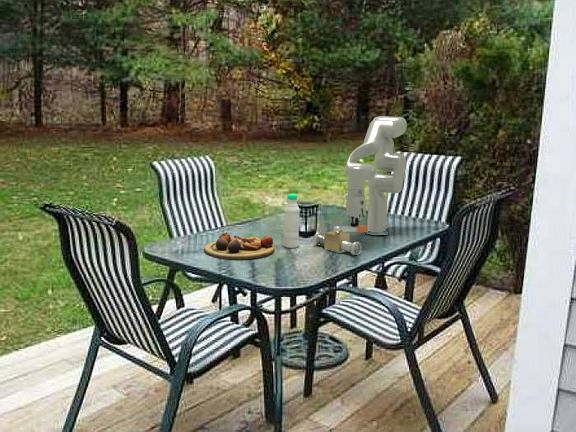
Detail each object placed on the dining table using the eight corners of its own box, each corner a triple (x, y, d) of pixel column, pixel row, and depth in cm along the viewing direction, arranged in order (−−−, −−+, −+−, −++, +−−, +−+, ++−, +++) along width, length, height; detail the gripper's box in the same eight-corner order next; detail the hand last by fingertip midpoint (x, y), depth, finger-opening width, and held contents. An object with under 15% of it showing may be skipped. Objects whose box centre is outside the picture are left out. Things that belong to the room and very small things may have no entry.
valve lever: (365, 230, 291) (365, 224, 291) (367, 232, 288) (368, 226, 287) (332, 231, 288) (332, 225, 288) (334, 233, 285) (334, 227, 284)
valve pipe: (322, 243, 300) (323, 226, 298) (361, 254, 283) (362, 236, 281) (312, 246, 295) (313, 228, 293) (351, 257, 278) (352, 238, 276)
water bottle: (280, 247, 292) (282, 194, 286) (287, 243, 298) (289, 192, 292) (294, 249, 289) (295, 196, 283) (301, 245, 295) (302, 193, 289)
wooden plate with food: (282, 245, 296) (282, 228, 294) (263, 263, 266) (262, 244, 264) (219, 241, 304) (219, 224, 302) (193, 257, 274) (192, 239, 272)
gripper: (372, 194, 284) (370, 233, 288) (353, 189, 297) (351, 226, 301) (359, 195, 280) (357, 235, 284) (340, 190, 293) (338, 228, 297)
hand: (354, 230), depth 292 cm, fingers closed
